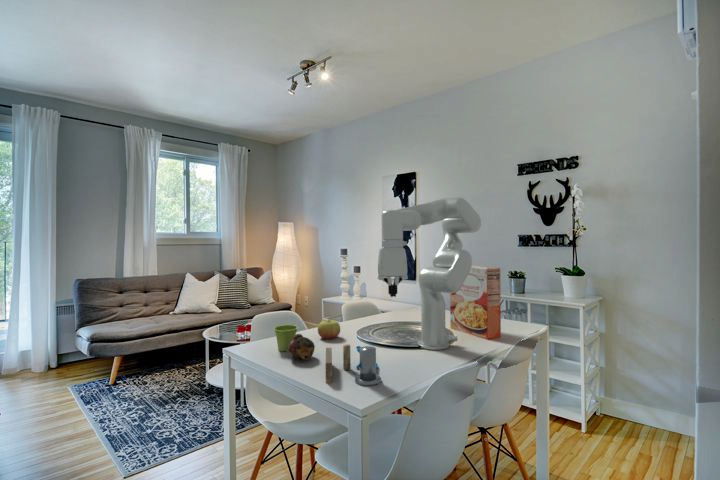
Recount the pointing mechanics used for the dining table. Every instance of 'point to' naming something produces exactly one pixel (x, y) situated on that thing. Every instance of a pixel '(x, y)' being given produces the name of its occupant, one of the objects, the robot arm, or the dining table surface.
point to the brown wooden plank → (328, 365)
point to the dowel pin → (346, 357)
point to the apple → (329, 329)
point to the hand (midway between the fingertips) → (392, 296)
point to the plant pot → (285, 336)
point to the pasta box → (478, 304)
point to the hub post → (367, 367)
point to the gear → (359, 363)
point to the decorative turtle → (301, 347)
